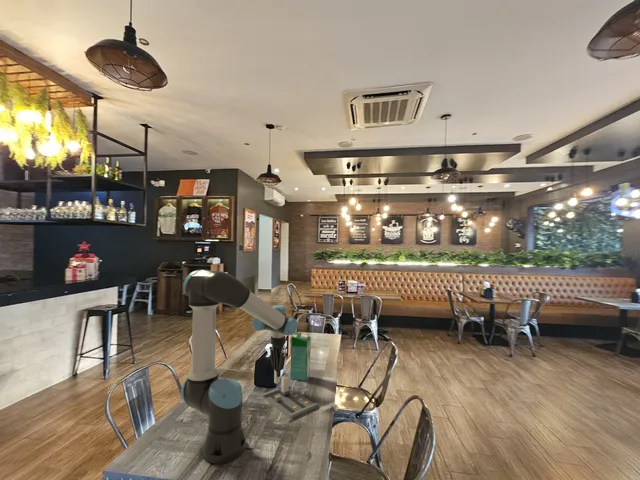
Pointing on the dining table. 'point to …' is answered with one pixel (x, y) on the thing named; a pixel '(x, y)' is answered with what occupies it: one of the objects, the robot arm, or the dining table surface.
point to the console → (290, 403)
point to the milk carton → (300, 356)
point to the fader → (285, 385)
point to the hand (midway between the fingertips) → (277, 382)
